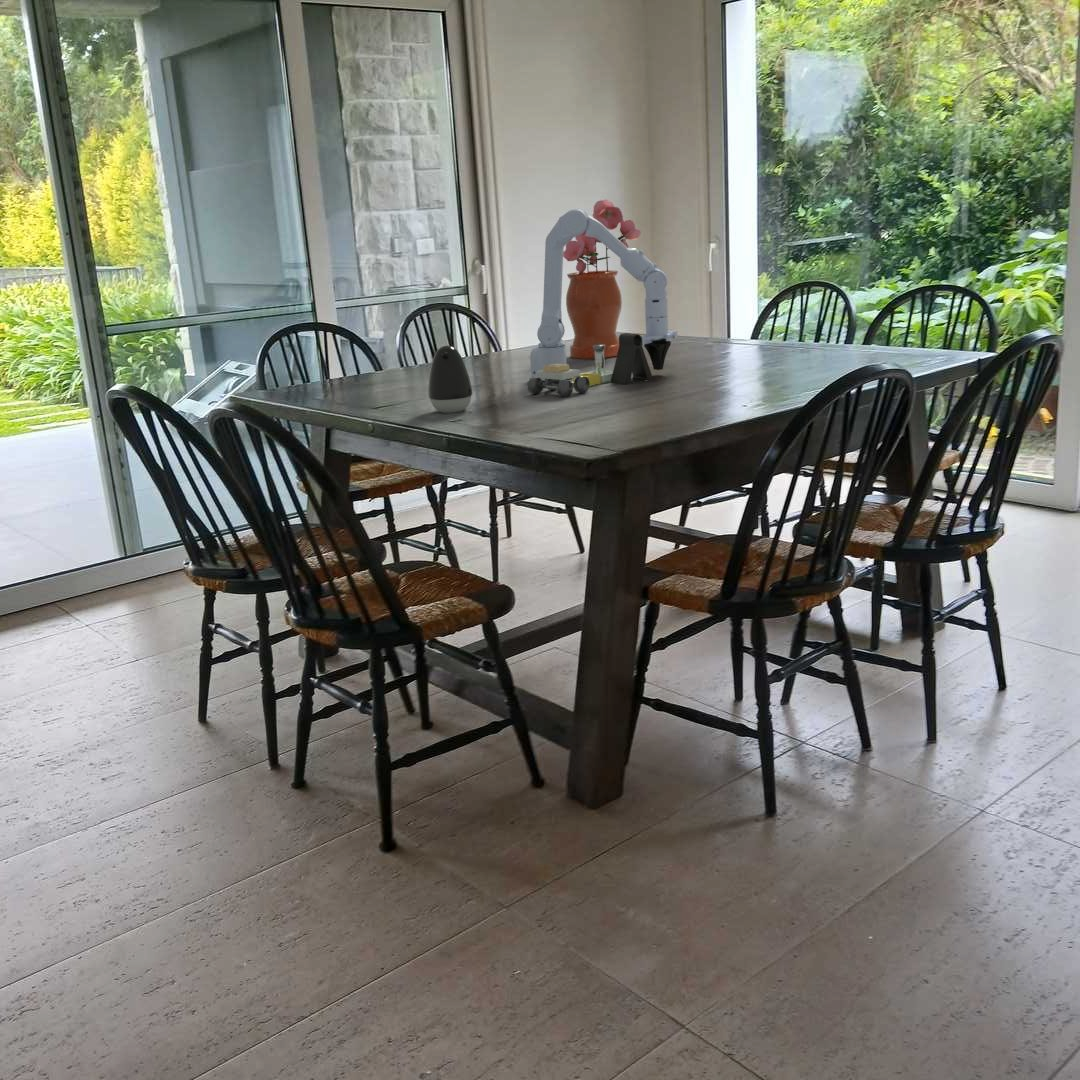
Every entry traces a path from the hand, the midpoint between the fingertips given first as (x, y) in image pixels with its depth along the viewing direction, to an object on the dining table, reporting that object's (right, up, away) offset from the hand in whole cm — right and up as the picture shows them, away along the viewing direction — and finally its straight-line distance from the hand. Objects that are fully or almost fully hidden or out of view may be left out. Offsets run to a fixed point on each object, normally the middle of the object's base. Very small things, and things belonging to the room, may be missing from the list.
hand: (658, 369), depth 293 cm
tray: (-15, -3, -3) cm, 16 cm away
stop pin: (-15, -3, -4) cm, 16 cm away
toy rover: (-26, -9, -18) cm, 33 cm away
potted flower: (-12, +11, +45) cm, 48 cm away
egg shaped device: (-52, -15, -33) cm, 63 cm away
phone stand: (-8, -4, -7) cm, 11 cm away
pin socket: (-19, -5, -8) cm, 21 cm away
